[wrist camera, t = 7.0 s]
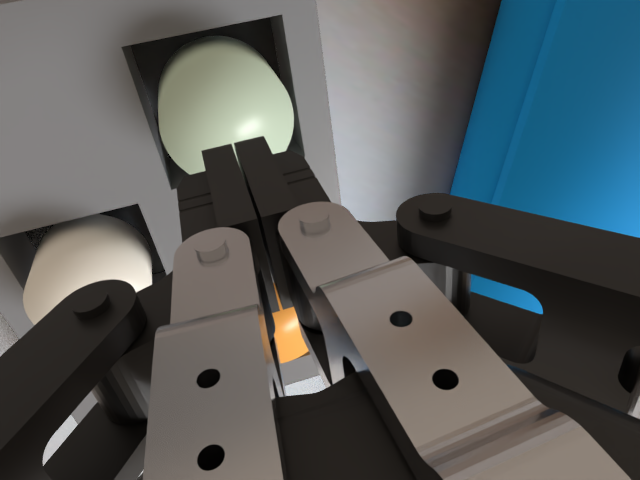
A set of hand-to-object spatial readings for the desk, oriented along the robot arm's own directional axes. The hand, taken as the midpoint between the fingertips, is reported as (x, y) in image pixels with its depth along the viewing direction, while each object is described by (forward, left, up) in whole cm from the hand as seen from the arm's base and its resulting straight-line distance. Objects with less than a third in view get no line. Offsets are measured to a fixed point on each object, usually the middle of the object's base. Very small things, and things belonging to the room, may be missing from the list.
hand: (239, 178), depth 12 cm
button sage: (0, 0, -6) cm, 6 cm away
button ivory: (+6, +5, -6) cm, 10 cm away
